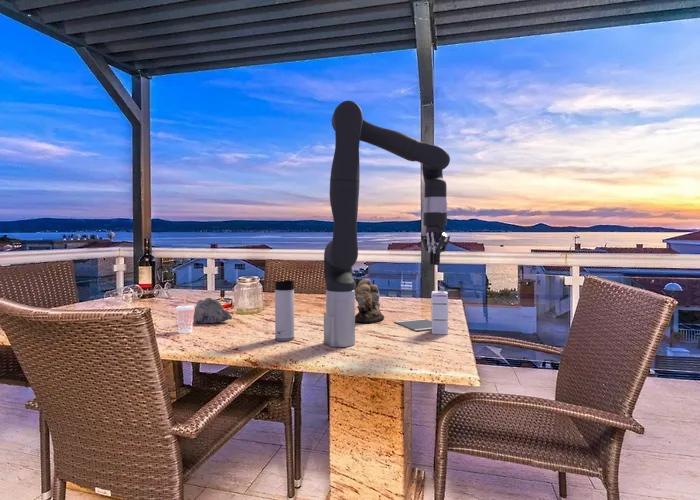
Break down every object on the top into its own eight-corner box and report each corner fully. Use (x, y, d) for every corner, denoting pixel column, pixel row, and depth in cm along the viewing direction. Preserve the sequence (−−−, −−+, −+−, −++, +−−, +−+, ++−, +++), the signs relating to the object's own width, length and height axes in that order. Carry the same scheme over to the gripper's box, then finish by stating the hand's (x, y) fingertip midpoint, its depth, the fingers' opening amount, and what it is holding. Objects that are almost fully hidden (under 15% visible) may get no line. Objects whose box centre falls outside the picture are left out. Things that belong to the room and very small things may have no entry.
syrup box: (448, 334, 143) (448, 293, 142) (430, 333, 144) (431, 292, 144) (447, 330, 149) (448, 291, 148) (431, 330, 150) (431, 290, 149)
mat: (416, 331, 147) (416, 330, 147) (394, 322, 162) (394, 321, 162) (448, 328, 153) (448, 326, 153) (424, 319, 167) (424, 318, 167)
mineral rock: (234, 322, 161) (233, 297, 161) (211, 328, 152) (210, 301, 152) (212, 319, 168) (212, 294, 168) (189, 323, 159) (189, 298, 159)
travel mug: (278, 342, 132) (278, 280, 131) (272, 338, 138) (272, 278, 137) (297, 340, 135) (297, 279, 134) (290, 336, 141) (290, 277, 140)
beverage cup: (197, 331, 147) (197, 292, 146) (180, 334, 142) (180, 294, 142) (189, 328, 151) (189, 290, 150) (173, 331, 146) (172, 292, 146)
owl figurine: (375, 326, 157) (375, 281, 156) (346, 323, 161) (346, 280, 160) (388, 316, 174) (388, 276, 173) (362, 314, 178) (361, 275, 177)
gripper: (414, 212, 139) (413, 263, 139) (437, 210, 126) (437, 266, 127) (432, 212, 142) (432, 263, 142) (457, 210, 129) (457, 266, 130)
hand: (434, 264), depth 135 cm, fingers closed
